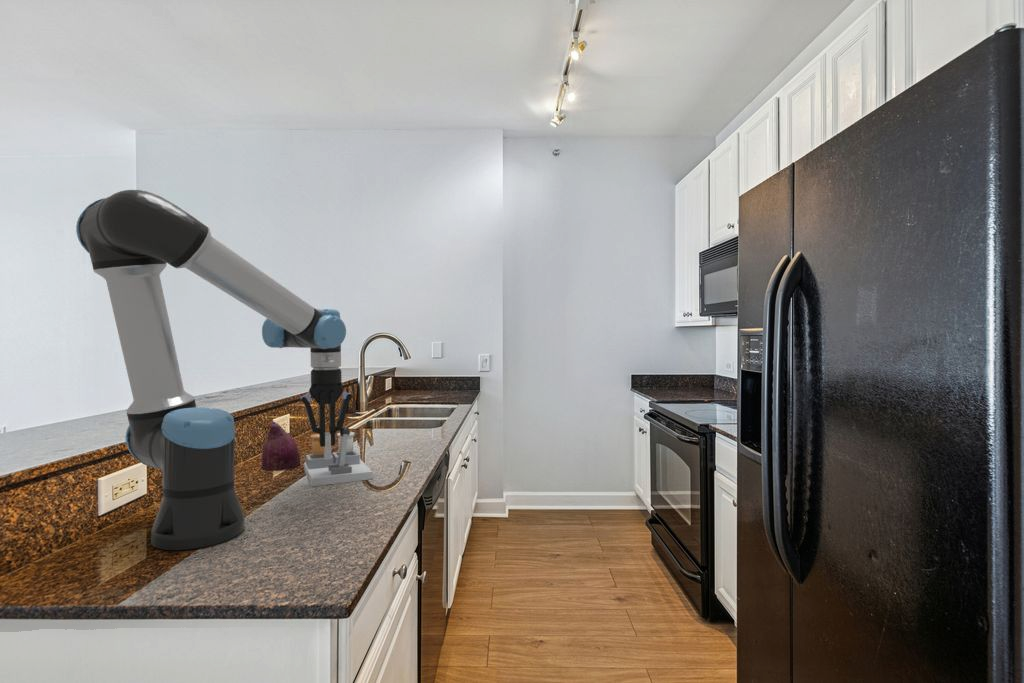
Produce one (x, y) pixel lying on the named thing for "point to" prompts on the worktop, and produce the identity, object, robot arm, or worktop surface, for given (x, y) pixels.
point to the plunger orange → (316, 445)
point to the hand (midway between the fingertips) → (327, 458)
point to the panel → (335, 469)
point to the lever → (343, 446)
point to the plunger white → (349, 442)
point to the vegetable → (279, 450)
